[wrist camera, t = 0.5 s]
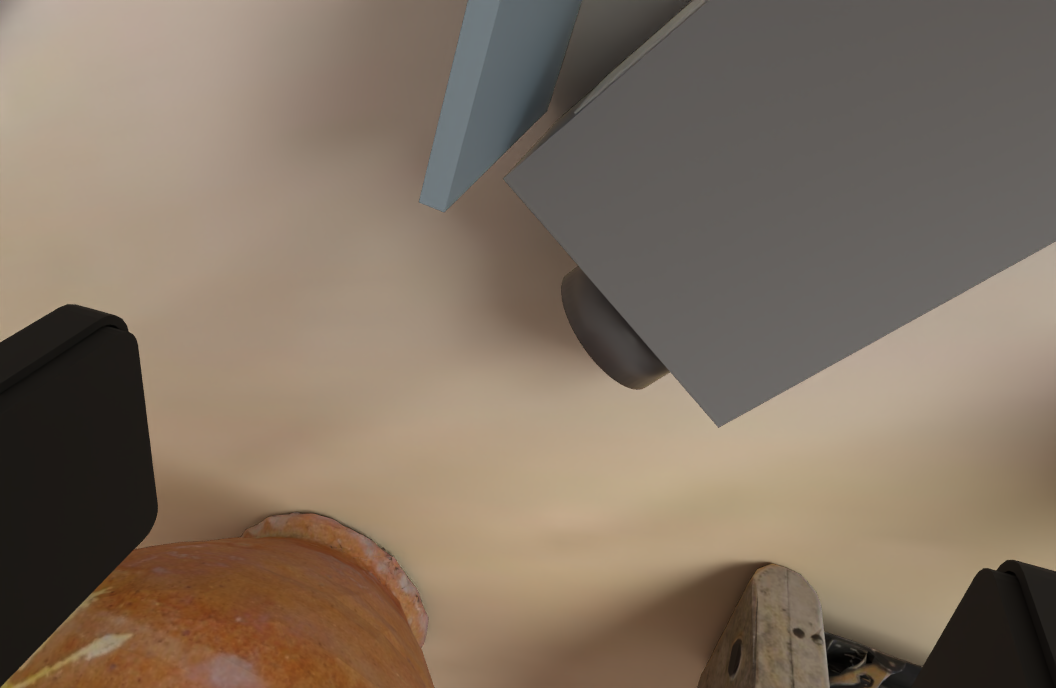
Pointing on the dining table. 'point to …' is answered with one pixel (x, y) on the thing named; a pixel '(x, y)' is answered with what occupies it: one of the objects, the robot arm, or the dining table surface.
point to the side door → (495, 88)
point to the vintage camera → (794, 643)
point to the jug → (244, 616)
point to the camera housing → (796, 183)
